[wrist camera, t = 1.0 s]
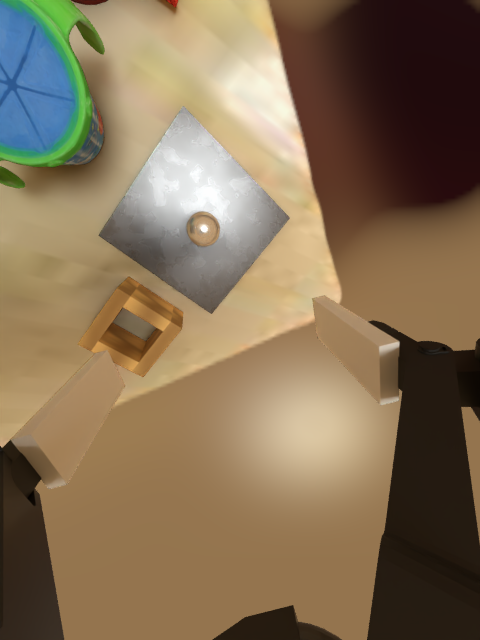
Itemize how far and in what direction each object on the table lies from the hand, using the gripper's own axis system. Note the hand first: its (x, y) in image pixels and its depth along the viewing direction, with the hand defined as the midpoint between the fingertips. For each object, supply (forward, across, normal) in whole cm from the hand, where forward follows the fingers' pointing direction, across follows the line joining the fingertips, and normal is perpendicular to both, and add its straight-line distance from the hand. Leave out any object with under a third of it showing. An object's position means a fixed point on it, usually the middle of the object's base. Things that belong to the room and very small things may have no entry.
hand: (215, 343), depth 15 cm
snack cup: (+20, -11, +20) cm, 31 cm away
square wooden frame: (+21, -13, -3) cm, 25 cm away
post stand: (+22, 0, +7) cm, 23 cm away
